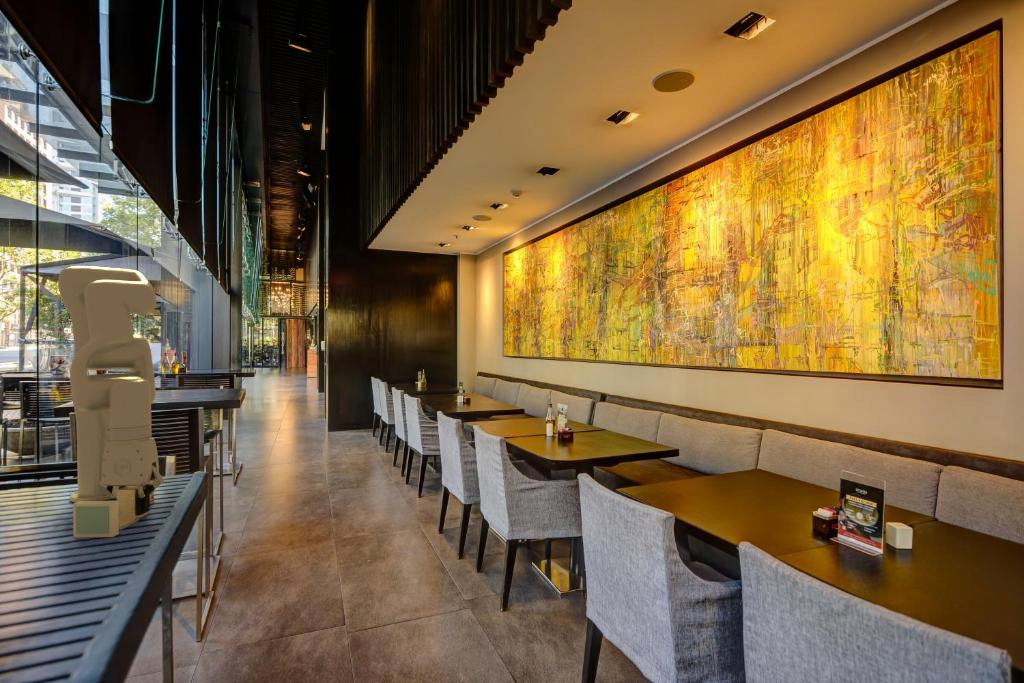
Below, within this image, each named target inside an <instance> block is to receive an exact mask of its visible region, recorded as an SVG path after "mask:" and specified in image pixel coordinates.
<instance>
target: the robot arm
mask: <svg viewBox="0 0 1024 683" xmlns="http://www.w3.org/2000/svg"><path fill="white" fill-rule="evenodd" d="M57 281H58V283H57V284H58V291H59V295H60V298H61V300H62V303H63V305H64V307H65V308H66V310H67V312H68V315H69V317H70V319H71V323H72V334H73V335H72V336H73V345H74V347H73V348H74V353H75V354H74V355H75V356H74V357H73V359H72V362H71V365H70V373H69V376H70V377H69V378H70V394H71V401H72V405H73V410H74V413H75V414H74V416H75V424H76V457H77V458H76V459H77V460H76V461H77V462H76V463H77V491H75V492H73V493H72V494H70V495H69V500H70V502H72V503H76V502H79V501H110V500H112V499H114V501H117V490H118V489H120V488H123V487H125V486H137V490H138V494H139V498H137V515H138V516H139V515H142V514H144V513H146V512H148V513H149V511H150V507H151V506H150V505H151V504H150V494H152V492H153V491H154V492H155V490H156V489H157V487H159V486H161V485H162V484H164V483H165V479H164V477H163V476H162V475H161V473H160V472H159V471H160V465H159V456H158V448H157V443H156V440H155V438H154V437H152V436H153V435H152V434H153V433H152V404H153V403H154V401H155V399H156V393H157V392H156V381H155V373H154V364H153V357H152V356H153V354H152V350H151V349H152V348H151V346H150V343H149V341H148V340H147V338H146V337H144V336H143V335H140V334H134V327H133V322H132V316H131V314H132V315H149V314H151V313H153V312H154V311H155V310H156V306H157V296H156V295H157V294H156V292H155V289H154V287H153V285H152V283H150V281H149V280H148V279H147V277H146V276H145V275H144V274H143V273H141V271H138V270H135V269H128V268H116V267H106V266H105V267H103V266H91V265H90V266H89V265H74V266H69V267H65V268H64V269H63V268H62V269H61V271H60V272H59V275H58V279H57ZM111 370H114V371H116V370H128V371H129V372H126V373H125V372H124V373H122V372H121V373H115V372H114V373H100V374H98V373H97V374H96V373H95V374H90V375H89V374H88V372H87V371H111ZM151 480H153V481H154V482H153V483H152V484H151V482H150V481H151ZM143 485H144V486H143ZM144 487H145V489H144Z"/></svg>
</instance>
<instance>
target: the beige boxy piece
mask: <svg viewBox="0 0 1024 683" xmlns="http://www.w3.org/2000/svg"><path fill="white" fill-rule="evenodd" d="M143 486H144V485H143ZM144 489H145V487H144ZM137 498H139V494H138V490H137V486H125V487H123V488H120V489H118V490H117V501H118V525H119V531H122V530H124V529H125V528H127V527H129V526H131V525H133V524H135V523H137V522H139V521H140V519H141V518H144V517H145V516H147V515H148V514H149V511H148V512H146V513H144V514H142V515H139V516H138V515H137Z"/></svg>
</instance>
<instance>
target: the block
mask: <svg viewBox="0 0 1024 683" xmlns="http://www.w3.org/2000/svg"><path fill="white" fill-rule="evenodd" d="M72 515H73V516H72V518H73V520H72V521H73V523H72V526H73V529H72V530H73V532H72V533H73V538H114V537H116V536H117V535H119V533H120V532H119V531H120V530H119V525H118V501H115V500H103V501H79V502H73V503H72Z"/></svg>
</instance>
